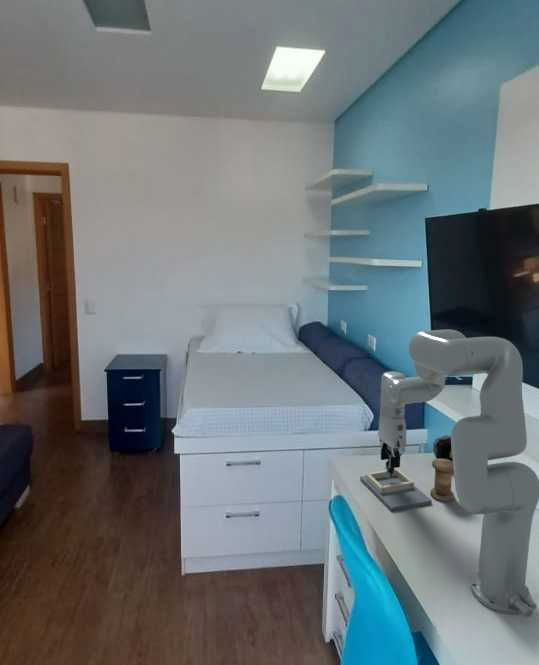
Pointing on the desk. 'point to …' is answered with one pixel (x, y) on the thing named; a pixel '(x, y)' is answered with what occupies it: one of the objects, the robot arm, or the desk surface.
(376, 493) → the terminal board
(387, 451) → the push button
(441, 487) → the wooden cabinet knob
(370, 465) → the desk surface
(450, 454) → the cpu cooler
